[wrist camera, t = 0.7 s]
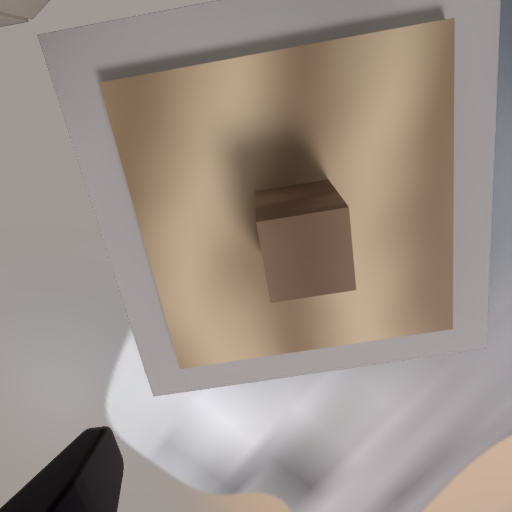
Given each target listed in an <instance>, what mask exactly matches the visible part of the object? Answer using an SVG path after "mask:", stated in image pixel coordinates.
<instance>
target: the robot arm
mask: <svg viewBox="0 0 512 512" xmlns="http://www.w3.org/2000/svg"><path fill="white" fill-rule="evenodd" d="M123 469H124V464H123V458H122V455H121V453H120V450H119V448H118V445H117V442H116V440H115V437H114V434H113V432H112V430H111V429H110V428H109V427H106V426H103V427H96V428H89V429H87V430H85V431H84V432H82V433H81V434H80V435H79V436H78V437H77V438H76V439H75V440H74V441H73V442H72V443H71V444H69V445H68V446H67V447H66V448H65V449H64V450H63V451H62V452H61V453H60V454H59V455H58V456H57V457H55V458H54V459H53V460H52V461H51V462H50V463H49V464H48V465H47V466H46V467H45V468H44V469H42V470H41V471H40V472H39V473H38V474H37V475H36V476H35V477H34V478H33V479H32V480H31V481H29V482H28V483H27V484H26V485H25V486H24V487H23V488H22V489H21V490H20V491H19V492H18V493H16V494H15V495H14V496H13V497H12V498H11V499H10V500H9V501H8V502H7V503H6V504H5V505H3V506H2V507H1V508H0V512H117V508H118V502H119V495H120V489H121V482H122V477H123Z"/></svg>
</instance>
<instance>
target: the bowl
mask: <svg viewBox="0 0 512 512" xmlns="http://www.w3.org/2000/svg"><path fill="white" fill-rule="evenodd" d="M49 1H50V0H0V27H3V26H8V25H13V24H19V23H24V22H28V19H33V18H34V17H35V16H36V15H37V14H38V13H39V12H40V11H41V9H42V8H43V7H44V6H45V5H46V4H47V3H48V2H49ZM27 18H28V19H27Z"/></svg>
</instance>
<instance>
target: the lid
mask: <svg viewBox="0 0 512 512" xmlns="http://www.w3.org/2000/svg"><path fill="white" fill-rule="evenodd" d="M454 52H455V18H450V19H444V20H439V21H433V22H428V23H422V24H417V25H412V26H406V27H401V28H395V29H390V30H384V31H379V32H373V33H368V34H362V35H357V36H352V37H346V38H341V39H335V40H330V41H324V42H319V43H313V44H308V45H302V46H297V47H292V48H286V49H281V50H275V51H270V52H264V53H259V54H253V55H248V56H242V57H237V58H232V59H226V60H221V61H215V62H210V63H204V64H199V65H193V66H188V67H182V68H177V69H172V70H166V71H161V72H155V73H150V74H144V75H139V76H133V77H128V78H123V79H117V80H112V81H106V82H101V83H99V85H100V89H101V92H102V96H103V99H104V103H105V106H106V110H107V113H108V117H109V121H110V124H111V128H112V131H113V135H114V138H115V142H116V145H117V149H118V152H119V156H120V159H121V163H122V166H123V170H124V173H125V177H126V180H127V184H128V188H129V191H130V195H131V198H132V202H133V205H134V209H135V212H136V216H137V219H138V223H139V226H140V230H141V233H142V237H143V240H144V244H145V247H146V251H147V254H148V258H149V262H150V265H151V269H152V272H153V276H154V279H155V283H156V286H157V290H158V293H159V297H160V300H161V304H162V307H163V311H164V314H165V318H166V321H167V325H168V329H169V332H170V336H171V339H172V343H173V346H174V350H175V353H176V357H177V360H178V364H179V367H180V369H184V368H191V367H198V366H205V365H212V364H218V363H225V362H232V361H239V360H246V359H253V358H259V357H266V356H273V355H280V354H287V353H294V352H300V351H307V350H314V349H321V348H328V347H334V346H341V345H348V344H355V343H362V342H369V341H375V340H382V339H389V338H396V337H403V336H410V335H416V334H423V333H430V332H437V331H444V330H450V329H453V222H454Z"/></svg>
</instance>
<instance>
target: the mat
mask: <svg viewBox="0 0 512 512" xmlns="http://www.w3.org/2000/svg"><path fill="white" fill-rule="evenodd" d="M500 6H501V0H217V1H212V2H207V3H202V4H196V5H191V6H186V7H181V8H175V9H170V10H165V11H160V12H154V13H149V14H144V15H139V16H133V17H128V18H123V19H118V20H112V21H107V22H102V23H97V24H91V25H86V26H81V27H76V28H70V29H65V30H60V31H55V32H50V33H44V34H39V35H37V36H38V38H39V42H40V45H41V48H42V51H43V54H44V57H45V60H46V63H47V67H48V70H49V73H50V76H51V79H52V82H53V85H54V88H55V91H56V95H57V98H58V101H59V104H60V107H61V110H62V113H63V116H64V119H65V123H66V125H67V129H68V132H69V135H70V138H71V141H72V144H73V148H74V151H75V154H76V157H77V160H78V163H79V166H80V169H81V172H82V175H83V179H84V182H85V185H86V188H87V191H88V194H89V197H90V200H91V204H92V207H93V210H94V213H95V216H96V219H97V222H98V225H99V228H100V232H101V235H102V237H103V241H104V244H105V247H106V250H107V253H108V257H109V260H110V263H111V266H112V269H113V272H114V275H115V278H116V281H117V284H118V288H119V291H120V294H121V297H122V300H123V303H124V306H125V309H126V312H127V316H128V318H129V322H130V325H131V328H132V331H133V334H134V337H135V341H136V344H137V347H138V350H139V353H140V356H141V359H142V362H143V366H144V369H145V372H146V375H147V378H148V381H149V384H150V387H151V390H152V394H153V396H160V395H167V394H174V393H181V392H188V391H195V390H202V389H209V388H216V387H223V386H230V385H237V384H244V383H251V382H258V381H265V380H272V379H279V378H285V377H292V376H299V375H306V374H313V373H320V372H327V371H334V370H341V369H348V368H355V367H362V366H369V365H376V364H383V363H390V362H397V361H404V360H411V359H418V358H425V357H432V356H439V355H446V354H453V353H460V352H466V351H473V350H480V349H486V348H487V323H488V299H489V274H490V250H491V226H492V201H493V177H494V152H495V128H496V103H497V79H498V54H499V30H500ZM450 18H455V52H454V222H453V329H450V330H444V331H437V332H430V333H423V334H416V335H410V336H403V337H396V338H389V339H382V340H375V341H369V342H362V343H355V344H348V345H341V346H334V347H328V348H321V349H314V350H307V351H300V352H294V353H287V354H280V355H273V356H266V357H259V358H253V359H246V360H239V361H232V362H225V363H218V364H212V365H205V366H198V367H191V368H184V369H180V367H179V364H178V360H177V357H176V353H175V350H174V346H173V343H172V339H171V336H170V332H169V329H168V325H167V321H166V318H165V314H164V311H163V307H162V304H161V300H160V297H159V293H158V290H157V286H156V283H155V279H154V276H153V272H152V269H151V265H150V262H149V258H148V254H147V251H146V247H145V244H144V240H143V237H142V233H141V230H140V226H139V223H138V219H137V216H136V212H135V209H134V205H133V202H132V198H131V195H130V191H129V188H128V184H127V180H126V177H125V173H124V170H123V166H122V163H121V159H120V156H119V152H118V149H117V145H116V142H115V138H114V135H113V131H112V128H111V124H110V121H109V117H108V113H107V110H106V106H105V103H104V99H103V96H102V92H101V89H100V85H99V83H101V82H106V81H112V80H117V79H123V78H128V77H133V76H139V75H144V74H150V73H155V72H161V71H166V70H172V69H177V68H182V67H188V66H193V65H199V64H204V63H210V62H215V61H221V60H226V59H232V58H237V57H242V56H248V55H253V54H259V53H264V52H270V51H275V50H281V49H286V48H292V47H297V46H302V45H308V44H313V43H319V42H324V41H330V40H335V39H341V38H346V37H352V36H357V35H362V34H368V33H373V32H379V31H384V30H390V29H395V28H401V27H406V26H412V25H417V24H422V23H428V22H433V21H439V20H444V19H450Z"/></svg>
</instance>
